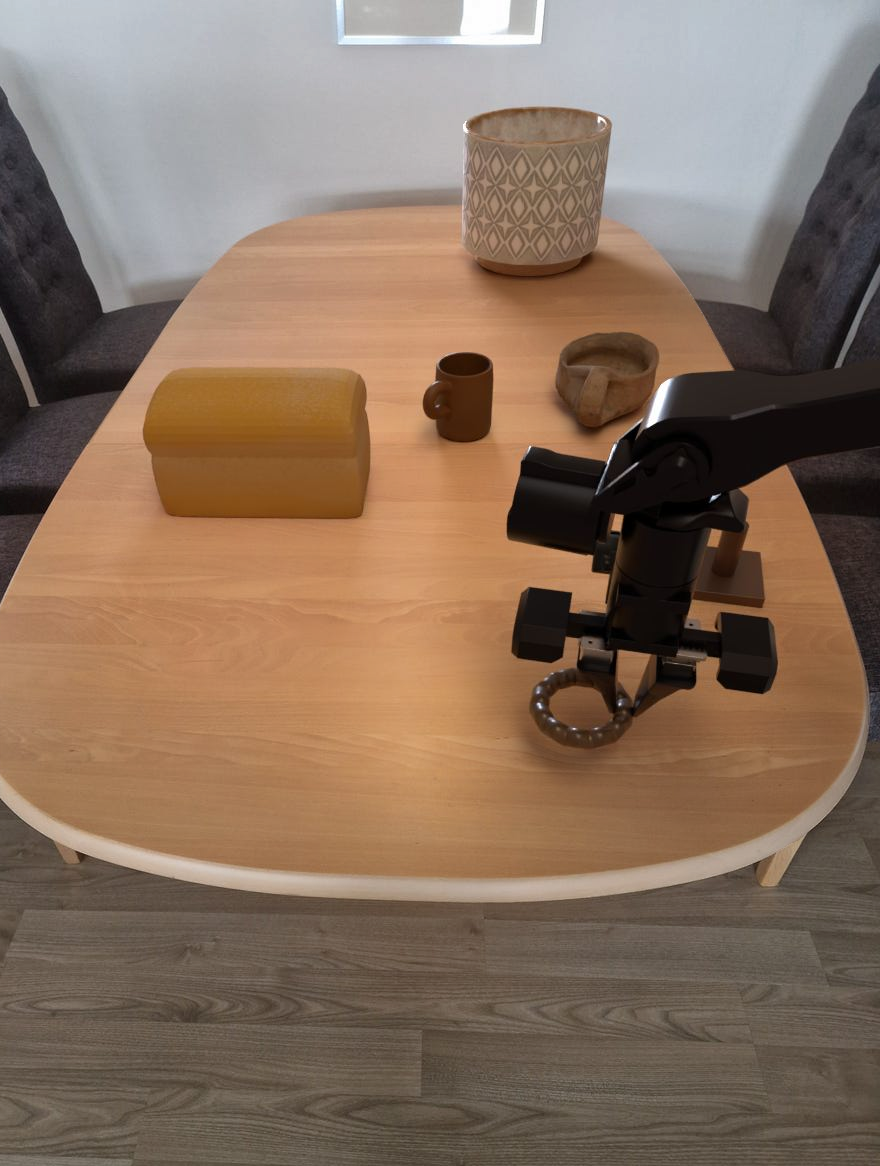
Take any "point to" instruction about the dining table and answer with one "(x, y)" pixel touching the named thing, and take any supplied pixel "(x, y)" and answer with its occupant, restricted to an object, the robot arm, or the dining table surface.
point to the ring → (570, 734)
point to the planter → (533, 188)
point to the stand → (731, 573)
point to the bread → (260, 442)
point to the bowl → (606, 375)
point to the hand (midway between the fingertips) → (623, 711)
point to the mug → (461, 396)
